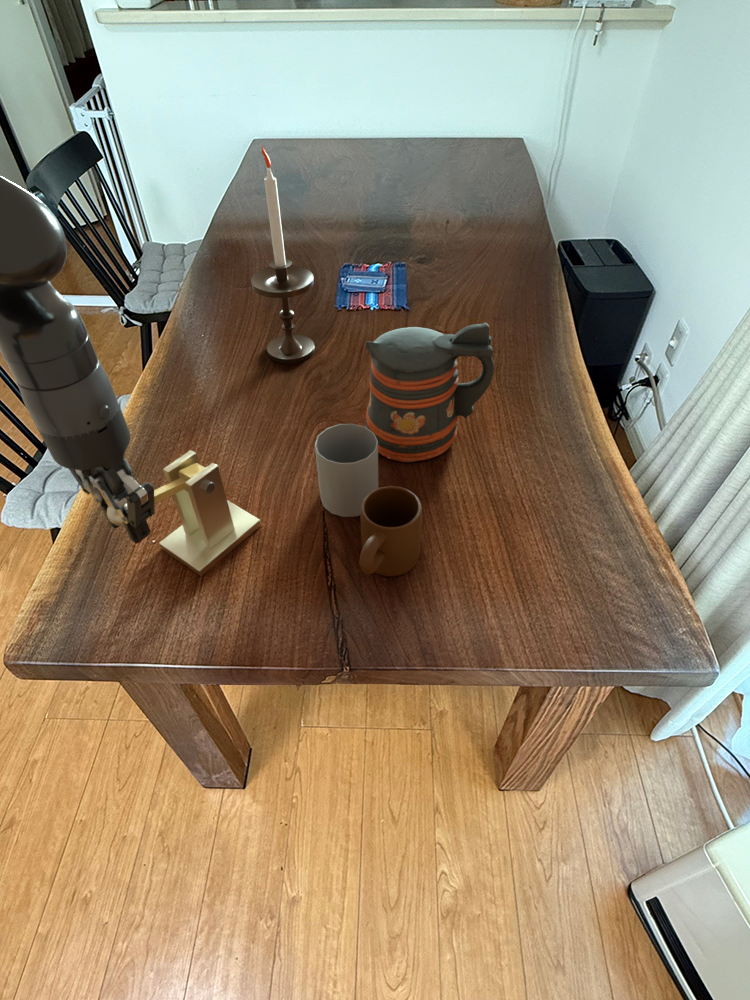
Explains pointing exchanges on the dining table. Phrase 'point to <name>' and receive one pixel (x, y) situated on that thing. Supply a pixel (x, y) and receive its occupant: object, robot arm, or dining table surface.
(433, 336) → the beer stein
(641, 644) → the dining table surface
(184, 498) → the switch bracket
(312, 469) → the dining table surface
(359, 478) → the cup
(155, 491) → the switch lever
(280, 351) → the candlestick
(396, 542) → the mug
